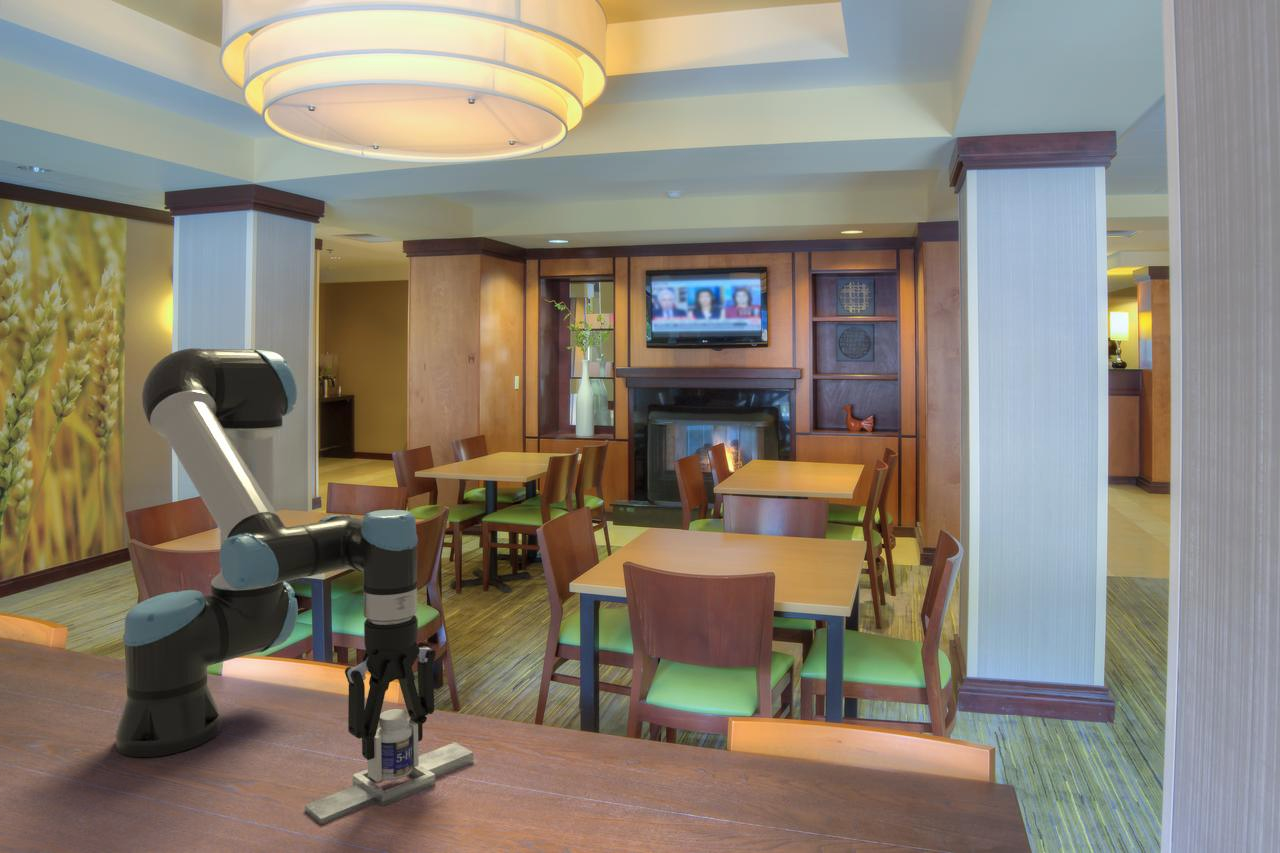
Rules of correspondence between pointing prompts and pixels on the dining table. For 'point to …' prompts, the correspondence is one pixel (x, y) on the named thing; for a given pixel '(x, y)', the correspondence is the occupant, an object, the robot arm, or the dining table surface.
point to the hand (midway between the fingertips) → (393, 770)
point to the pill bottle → (395, 744)
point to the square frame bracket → (370, 793)
